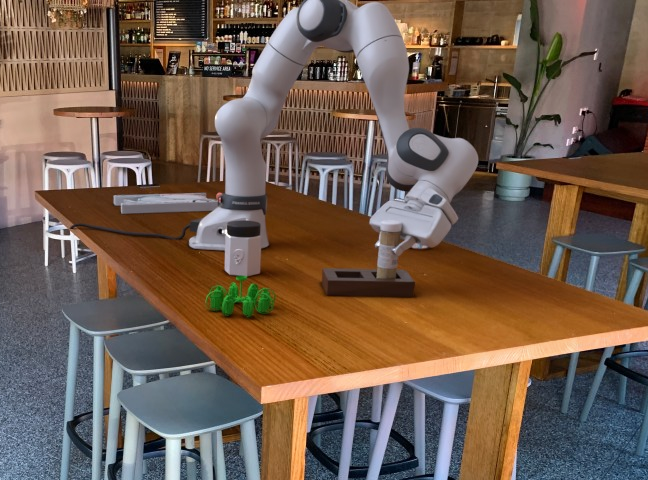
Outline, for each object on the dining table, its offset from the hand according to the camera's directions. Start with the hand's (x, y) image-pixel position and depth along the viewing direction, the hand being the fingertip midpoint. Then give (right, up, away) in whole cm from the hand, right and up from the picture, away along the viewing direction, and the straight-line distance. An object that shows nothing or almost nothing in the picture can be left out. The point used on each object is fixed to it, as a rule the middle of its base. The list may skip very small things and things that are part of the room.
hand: (386, 251), depth 177 cm
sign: (-53, +32, +102) cm, 119 cm away
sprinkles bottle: (+1, -6, +3) cm, 7 cm away
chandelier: (-33, -14, -11) cm, 38 cm away
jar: (-31, -2, +18) cm, 36 cm away
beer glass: (+20, +8, +45) cm, 50 cm away
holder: (-4, -8, +4) cm, 10 cm away
